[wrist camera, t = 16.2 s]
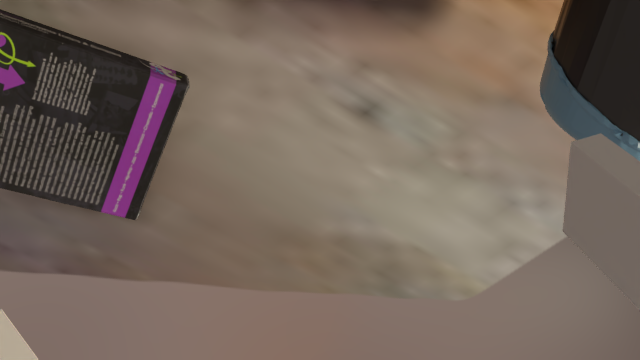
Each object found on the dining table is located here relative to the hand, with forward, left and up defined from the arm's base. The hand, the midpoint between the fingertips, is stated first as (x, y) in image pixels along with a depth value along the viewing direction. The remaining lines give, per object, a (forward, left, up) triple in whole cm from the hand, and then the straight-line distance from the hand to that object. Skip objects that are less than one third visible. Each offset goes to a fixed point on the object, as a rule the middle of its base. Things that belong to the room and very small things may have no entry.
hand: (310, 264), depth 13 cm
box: (+16, +9, -37) cm, 42 cm away
